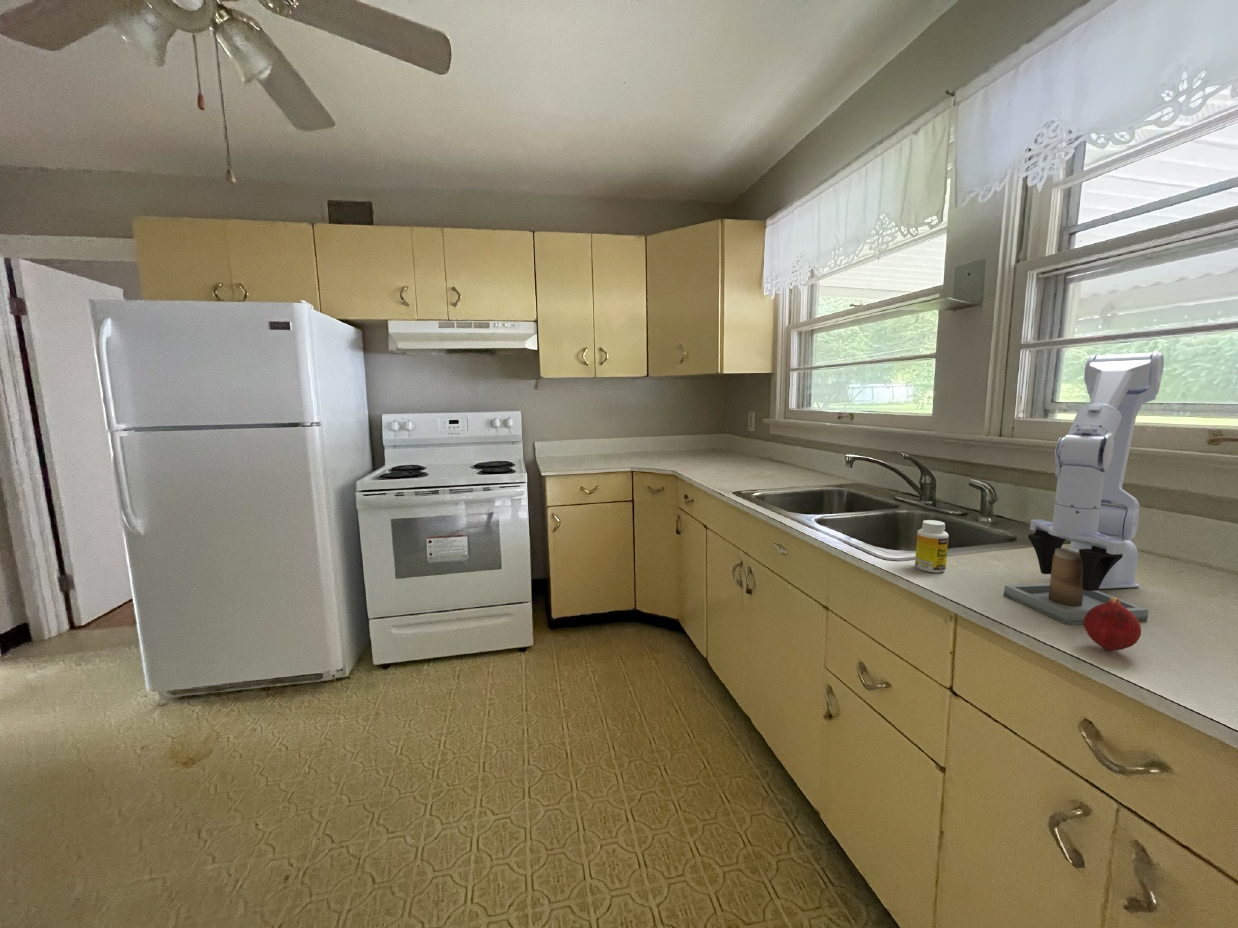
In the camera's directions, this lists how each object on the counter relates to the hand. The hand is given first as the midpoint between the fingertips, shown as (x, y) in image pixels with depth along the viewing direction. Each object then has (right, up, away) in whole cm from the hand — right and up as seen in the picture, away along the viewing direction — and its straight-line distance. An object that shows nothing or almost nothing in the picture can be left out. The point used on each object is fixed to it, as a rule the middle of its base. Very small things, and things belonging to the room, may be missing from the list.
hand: (1068, 581), depth 86 cm
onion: (-8, -7, -15) cm, 18 cm away
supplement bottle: (-12, -2, +19) cm, 22 cm away
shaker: (0, -4, 0) cm, 4 cm away
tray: (0, -4, 0) cm, 4 cm away
